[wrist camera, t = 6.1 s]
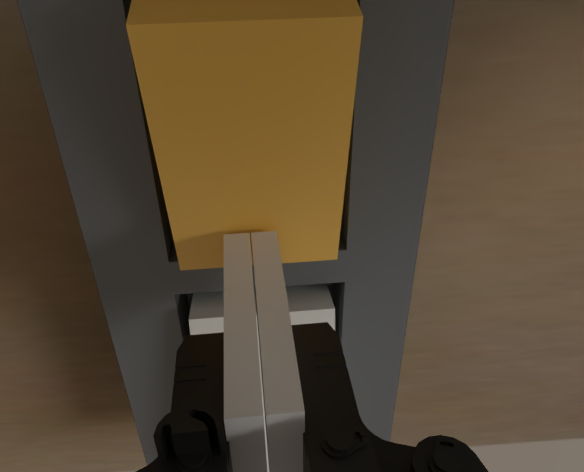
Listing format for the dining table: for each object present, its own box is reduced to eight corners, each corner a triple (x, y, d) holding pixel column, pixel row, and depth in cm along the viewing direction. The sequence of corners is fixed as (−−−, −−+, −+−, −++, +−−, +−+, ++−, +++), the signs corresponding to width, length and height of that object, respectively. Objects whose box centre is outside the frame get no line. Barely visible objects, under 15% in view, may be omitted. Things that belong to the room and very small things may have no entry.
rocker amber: (136, -23, 13) (125, 24, 11) (344, -29, 13) (363, 16, 12) (183, 216, 19) (180, 270, 17) (326, 207, 19) (337, 259, 17)
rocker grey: (193, 287, 21) (188, 319, 18) (324, 278, 21) (335, 308, 19) (212, 452, 23) (209, 498, 21) (327, 442, 24) (336, 485, 22)
